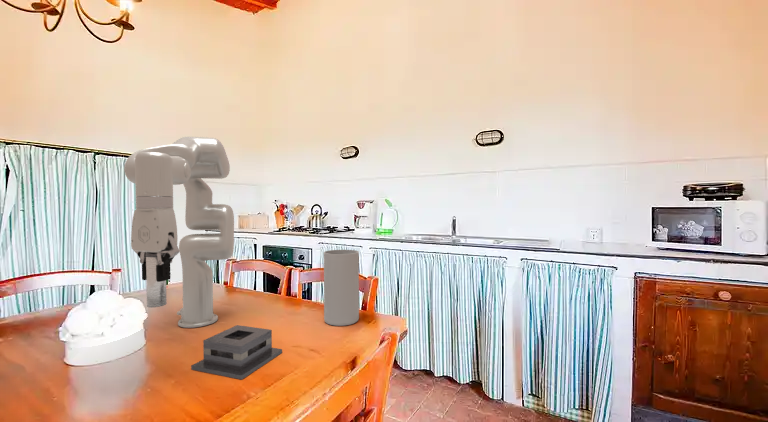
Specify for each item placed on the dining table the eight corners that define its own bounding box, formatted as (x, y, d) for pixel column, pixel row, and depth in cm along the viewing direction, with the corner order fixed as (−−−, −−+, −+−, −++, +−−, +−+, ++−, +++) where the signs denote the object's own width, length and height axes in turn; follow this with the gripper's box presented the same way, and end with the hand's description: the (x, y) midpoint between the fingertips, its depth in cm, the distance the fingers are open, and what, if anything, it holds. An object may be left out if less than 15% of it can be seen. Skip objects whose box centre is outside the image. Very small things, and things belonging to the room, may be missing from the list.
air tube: (142, 306, 82) (141, 244, 82) (158, 301, 86) (157, 242, 86) (154, 308, 81) (153, 244, 81) (170, 303, 85) (169, 242, 85)
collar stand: (191, 369, 88) (190, 342, 88) (236, 345, 103) (236, 322, 103) (241, 379, 83) (241, 350, 83) (282, 352, 98) (282, 328, 98)
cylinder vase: (344, 329, 116) (344, 255, 116) (316, 322, 123) (316, 252, 123) (365, 318, 127) (365, 251, 127) (339, 313, 134) (338, 248, 133)
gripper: (114, 204, 82) (116, 280, 83) (166, 204, 77) (167, 286, 77) (145, 204, 89) (146, 274, 90) (194, 204, 84) (195, 279, 84)
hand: (156, 278), depth 84 cm, fingers closed on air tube, 4 cm apart
